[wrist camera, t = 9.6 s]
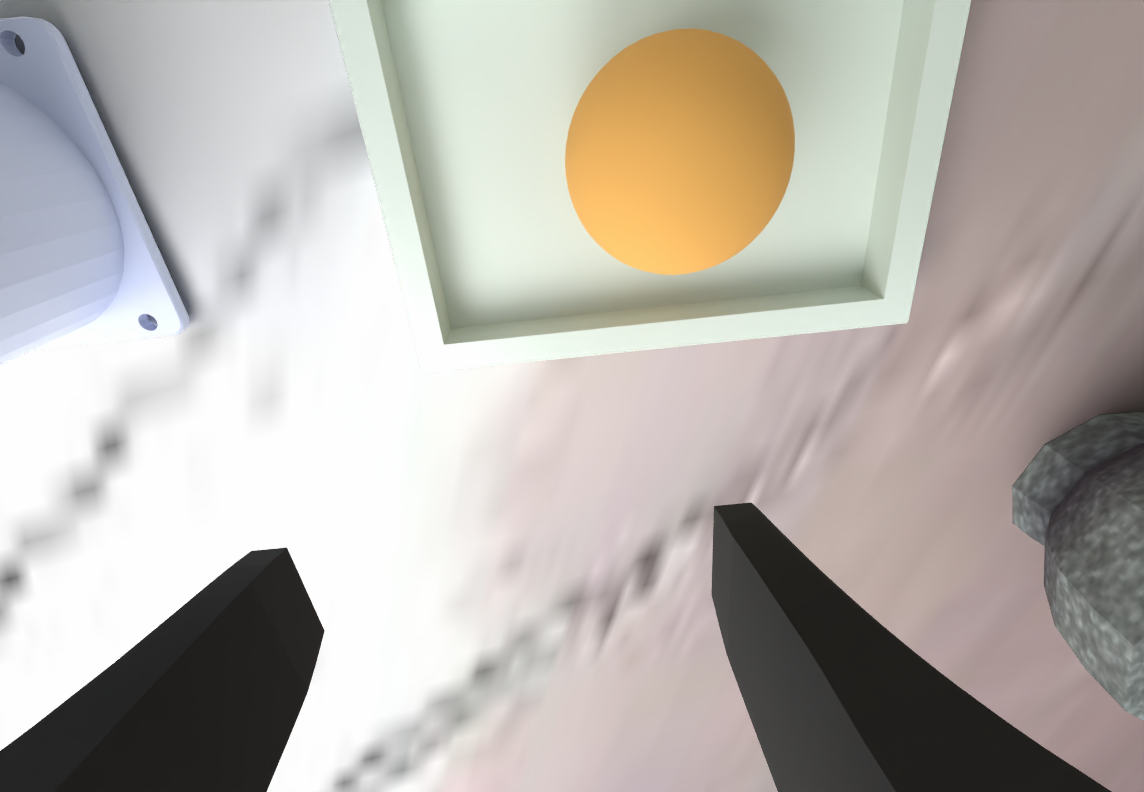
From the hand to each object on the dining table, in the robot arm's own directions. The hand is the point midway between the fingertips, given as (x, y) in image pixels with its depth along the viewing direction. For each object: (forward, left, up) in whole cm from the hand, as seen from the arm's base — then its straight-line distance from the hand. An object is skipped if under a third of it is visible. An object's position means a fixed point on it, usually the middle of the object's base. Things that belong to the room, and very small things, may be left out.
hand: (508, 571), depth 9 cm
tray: (+4, +6, -9) cm, 12 cm away
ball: (+4, +6, -6) cm, 9 cm away
